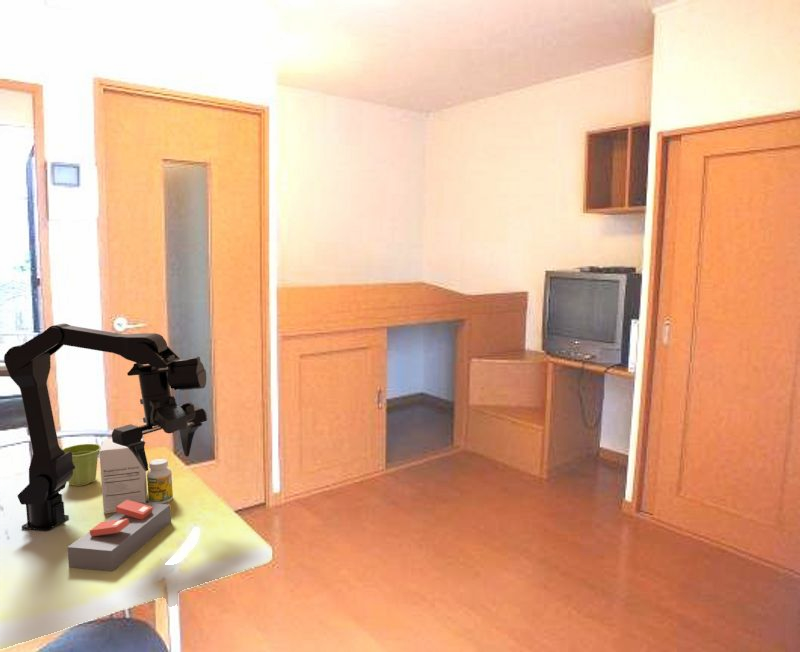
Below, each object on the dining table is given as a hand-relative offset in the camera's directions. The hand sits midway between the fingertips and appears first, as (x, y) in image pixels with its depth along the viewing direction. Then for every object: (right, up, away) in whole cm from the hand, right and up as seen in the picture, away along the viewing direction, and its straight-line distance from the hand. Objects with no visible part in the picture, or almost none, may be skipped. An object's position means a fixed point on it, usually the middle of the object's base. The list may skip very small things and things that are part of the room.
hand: (167, 463), depth 125 cm
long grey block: (-5, -14, -6) cm, 16 cm away
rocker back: (-5, -9, -4) cm, 11 cm away
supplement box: (-14, -12, +11) cm, 22 cm away
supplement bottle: (-7, -12, +13) cm, 19 cm away
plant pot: (-31, -11, +24) cm, 41 cm away
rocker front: (-6, -10, -12) cm, 17 cm away
